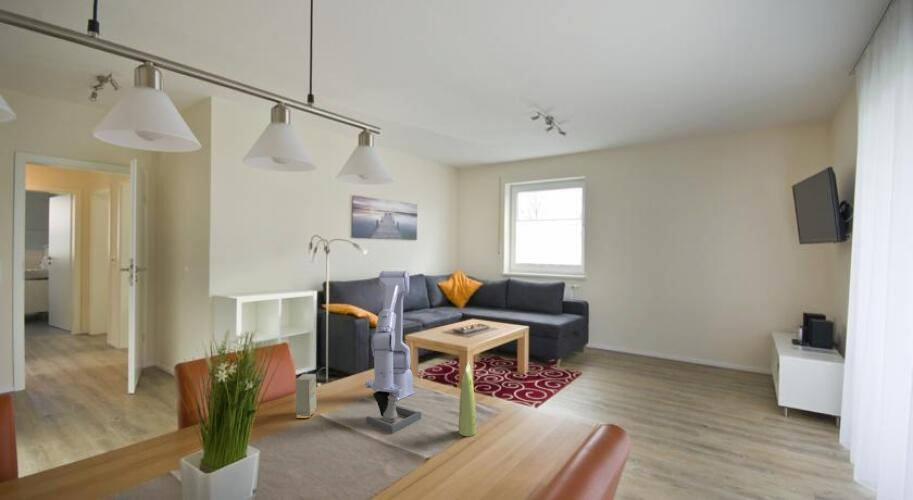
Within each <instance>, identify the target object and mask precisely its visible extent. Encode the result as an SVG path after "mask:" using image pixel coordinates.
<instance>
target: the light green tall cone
mask: <svg viewBox="0 0 913 500" xmlns="http://www.w3.org/2000/svg"><path fill="white" fill-rule="evenodd" d="M472 374H473V373H472V368H471V365H470V360H468V362H467V364H466V366H465V370H464V373H463V375H462V381H461V387H460V396H459V408H458V409H459V411H458V414H459V415H458V434H460V435H461V436H464V437H471V436H474V435H475V434H476V433H477V420H476V419H477V418H476V400H475V399H476V397H475V391H474V390H475V389H474V381H473V375H472Z"/></svg>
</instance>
